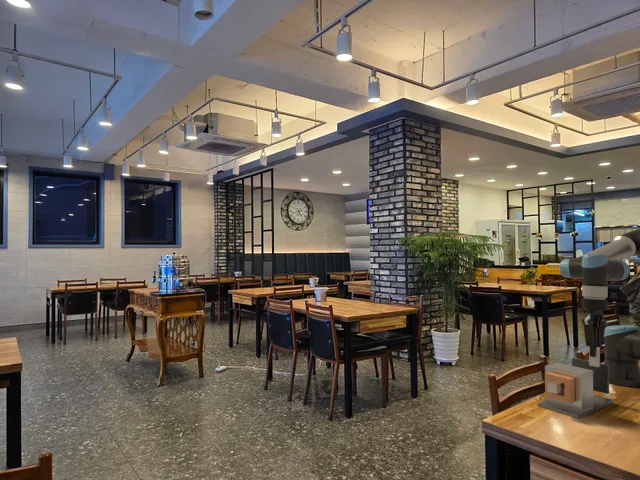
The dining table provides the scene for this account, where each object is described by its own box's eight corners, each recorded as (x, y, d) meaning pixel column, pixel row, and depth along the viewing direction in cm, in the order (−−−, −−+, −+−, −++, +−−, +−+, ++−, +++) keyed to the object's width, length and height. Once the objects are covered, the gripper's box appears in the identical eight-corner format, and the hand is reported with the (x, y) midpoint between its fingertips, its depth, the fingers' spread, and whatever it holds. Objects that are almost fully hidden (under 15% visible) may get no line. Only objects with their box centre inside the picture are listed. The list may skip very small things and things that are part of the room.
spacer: (550, 395, 147) (550, 372, 147) (574, 402, 140) (574, 377, 140) (545, 396, 145) (545, 373, 145) (570, 403, 139) (569, 379, 139)
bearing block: (574, 392, 161) (574, 357, 162) (613, 402, 151) (612, 364, 151) (537, 405, 147) (537, 367, 147) (577, 418, 136) (577, 376, 136)
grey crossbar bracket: (573, 384, 160) (573, 357, 160) (609, 393, 150) (609, 365, 150) (534, 397, 145) (534, 368, 145) (571, 409, 135) (570, 377, 135)
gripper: (591, 296, 155) (591, 361, 154) (573, 297, 148) (573, 365, 147) (614, 298, 149) (614, 365, 148) (597, 299, 141) (597, 371, 141)
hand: (594, 365), depth 147 cm, fingers closed
